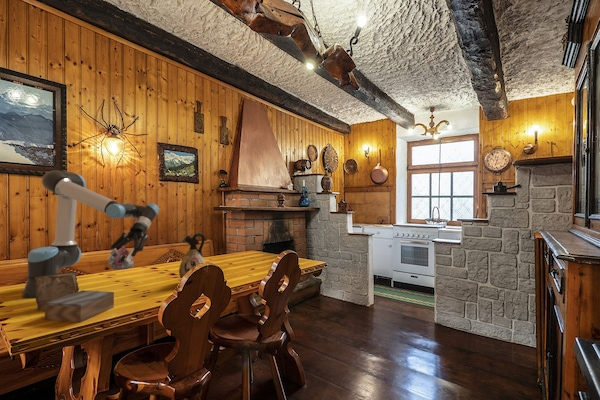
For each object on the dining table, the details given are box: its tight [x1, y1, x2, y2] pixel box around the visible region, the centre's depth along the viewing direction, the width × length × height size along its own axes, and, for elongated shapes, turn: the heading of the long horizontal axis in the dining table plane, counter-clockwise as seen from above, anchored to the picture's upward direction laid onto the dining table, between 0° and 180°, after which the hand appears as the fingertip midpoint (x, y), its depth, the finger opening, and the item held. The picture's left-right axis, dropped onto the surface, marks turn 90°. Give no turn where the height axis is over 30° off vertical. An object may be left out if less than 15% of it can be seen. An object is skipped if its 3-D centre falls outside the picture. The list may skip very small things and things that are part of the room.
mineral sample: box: [35, 271, 80, 311], centre depth 131 cm, size 17×4×15 cm, turn 112°
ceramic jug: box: [178, 232, 207, 279], centre depth 173 cm, size 17×15×30 cm
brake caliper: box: [106, 245, 135, 270], centre depth 147 cm, size 11×11×12 cm
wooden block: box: [44, 290, 115, 323], centre depth 124 cm, size 16×17×7 cm
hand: (118, 260), depth 144 cm, fingers closed on brake caliper, 9 cm apart
